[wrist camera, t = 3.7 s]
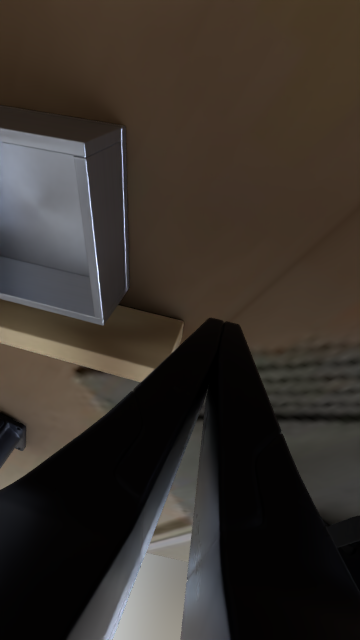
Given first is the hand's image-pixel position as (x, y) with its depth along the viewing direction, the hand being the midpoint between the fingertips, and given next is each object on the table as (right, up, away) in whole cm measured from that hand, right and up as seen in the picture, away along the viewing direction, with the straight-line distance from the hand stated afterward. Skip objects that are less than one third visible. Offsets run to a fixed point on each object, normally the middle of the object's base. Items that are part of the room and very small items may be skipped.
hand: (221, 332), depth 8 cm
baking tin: (-7, +6, +5) cm, 10 cm away
